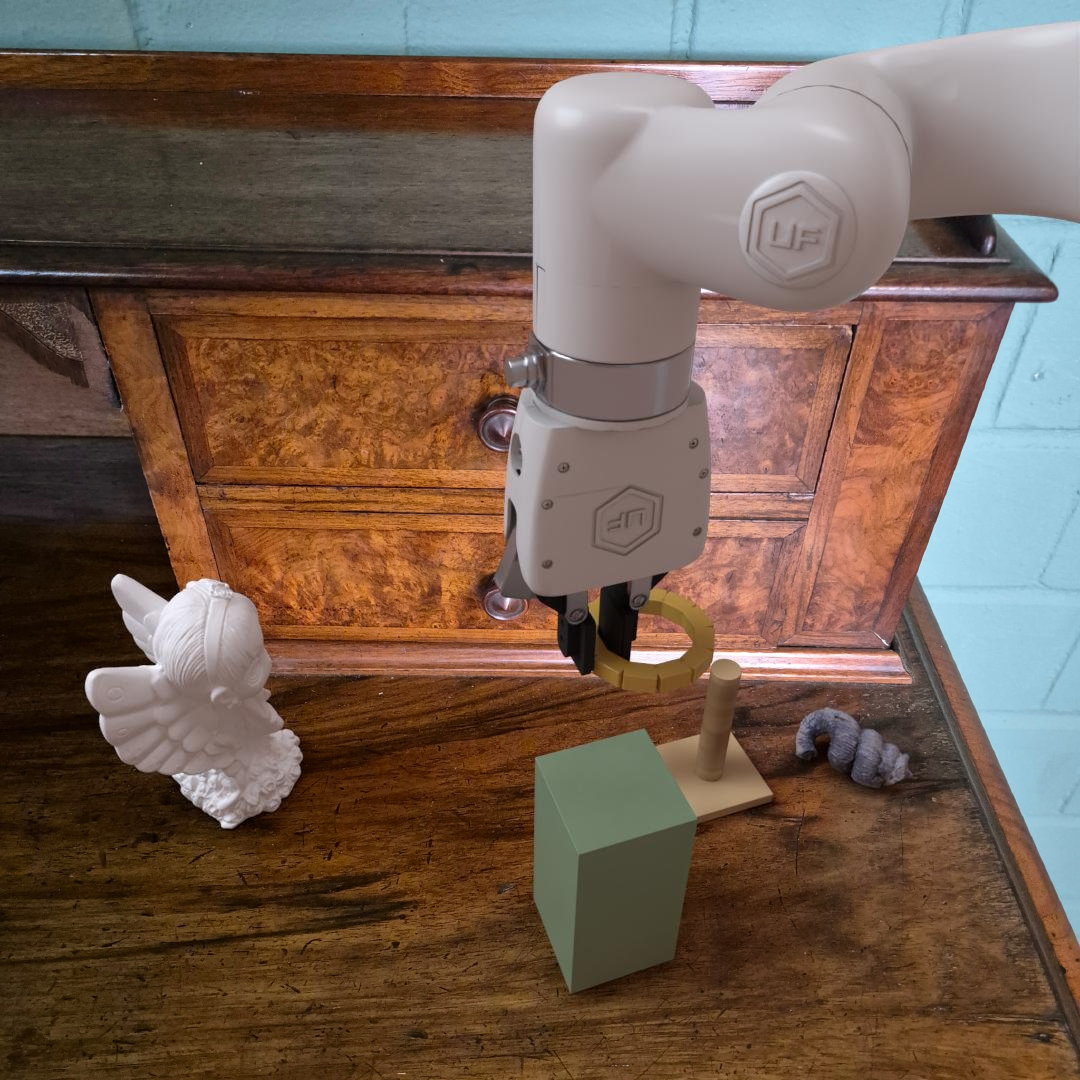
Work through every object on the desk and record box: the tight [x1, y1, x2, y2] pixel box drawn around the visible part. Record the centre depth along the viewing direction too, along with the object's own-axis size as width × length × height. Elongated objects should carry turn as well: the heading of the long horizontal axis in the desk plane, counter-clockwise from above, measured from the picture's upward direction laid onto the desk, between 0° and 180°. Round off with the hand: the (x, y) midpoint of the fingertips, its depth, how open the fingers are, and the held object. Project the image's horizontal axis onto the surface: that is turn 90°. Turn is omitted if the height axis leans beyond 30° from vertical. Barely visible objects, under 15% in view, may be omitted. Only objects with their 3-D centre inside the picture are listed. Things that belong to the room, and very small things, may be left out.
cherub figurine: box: [84, 573, 304, 830], centre depth 75 cm, size 13×12×20 cm
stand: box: [532, 728, 698, 995], centre depth 66 cm, size 8×8×16 cm
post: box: [655, 658, 774, 825], centre depth 78 cm, size 8×8×13 cm
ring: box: [588, 587, 716, 695], centre depth 56 cm, size 8×8×1 cm
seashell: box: [795, 706, 914, 789], centre depth 82 cm, size 5×5×10 cm
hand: (595, 652), depth 55 cm, fingers closed on ring, 1 cm apart
